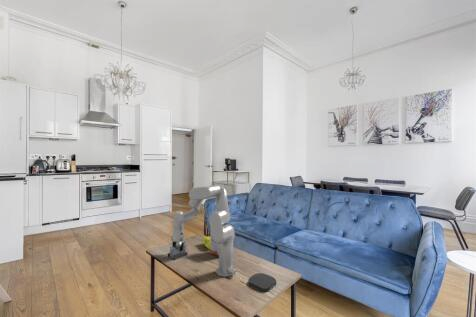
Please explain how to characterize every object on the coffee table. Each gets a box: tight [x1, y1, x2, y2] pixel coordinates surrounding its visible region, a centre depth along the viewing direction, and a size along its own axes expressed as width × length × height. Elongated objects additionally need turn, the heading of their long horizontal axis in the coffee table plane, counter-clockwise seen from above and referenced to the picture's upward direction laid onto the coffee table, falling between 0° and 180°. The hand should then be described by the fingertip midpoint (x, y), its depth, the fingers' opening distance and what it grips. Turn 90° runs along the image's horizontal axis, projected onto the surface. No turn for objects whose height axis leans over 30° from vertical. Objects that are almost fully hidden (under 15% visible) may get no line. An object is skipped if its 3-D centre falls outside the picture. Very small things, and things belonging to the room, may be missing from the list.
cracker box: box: [209, 229, 219, 257], centre depth 175 cm, size 14×6×21 cm, turn 53°
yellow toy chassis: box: [202, 235, 210, 251], centre depth 190 cm, size 16×6×8 cm, turn 30°
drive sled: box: [167, 251, 188, 261], centre depth 171 cm, size 9×12×2 cm
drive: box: [169, 243, 187, 258], centre depth 171 cm, size 5×11×7 cm, turn 140°
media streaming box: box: [247, 272, 277, 293], centre depth 134 cm, size 15×15×3 cm
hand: (177, 249), depth 171 cm, fingers open, 9 cm apart
